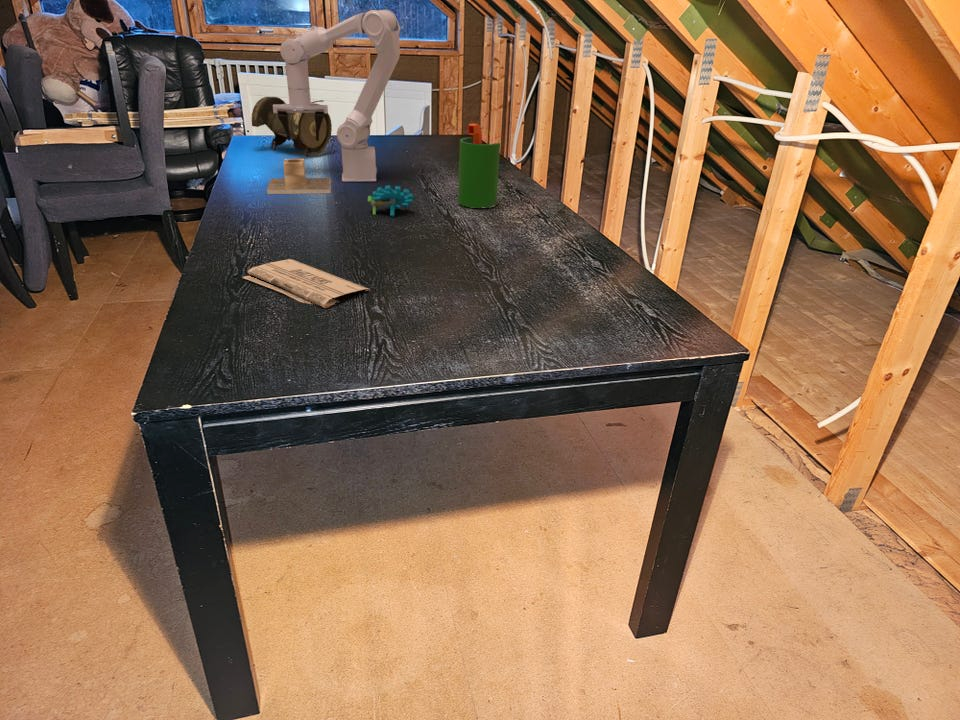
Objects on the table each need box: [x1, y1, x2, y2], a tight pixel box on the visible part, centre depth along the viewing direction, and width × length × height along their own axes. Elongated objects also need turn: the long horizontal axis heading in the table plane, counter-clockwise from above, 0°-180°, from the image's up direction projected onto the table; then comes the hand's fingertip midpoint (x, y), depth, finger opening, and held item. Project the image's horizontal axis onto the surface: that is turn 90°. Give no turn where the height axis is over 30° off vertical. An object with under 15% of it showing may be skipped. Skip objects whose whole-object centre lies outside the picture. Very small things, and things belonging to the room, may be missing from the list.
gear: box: [367, 184, 414, 218], centre depth 157 cm, size 11×6×10 cm
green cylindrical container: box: [457, 123, 501, 208], centre depth 163 cm, size 10×9×20 cm
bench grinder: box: [251, 96, 333, 158], centre depth 209 cm, size 20×22×20 cm
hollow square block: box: [282, 158, 307, 186], centre depth 173 cm, size 5×5×6 cm
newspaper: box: [242, 258, 371, 309], centre depth 119 cm, size 23×12×2 cm, turn 52°
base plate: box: [266, 177, 332, 195], centre depth 174 cm, size 16×12×5 cm
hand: (303, 139), depth 184 cm, fingers open, 7 cm apart
